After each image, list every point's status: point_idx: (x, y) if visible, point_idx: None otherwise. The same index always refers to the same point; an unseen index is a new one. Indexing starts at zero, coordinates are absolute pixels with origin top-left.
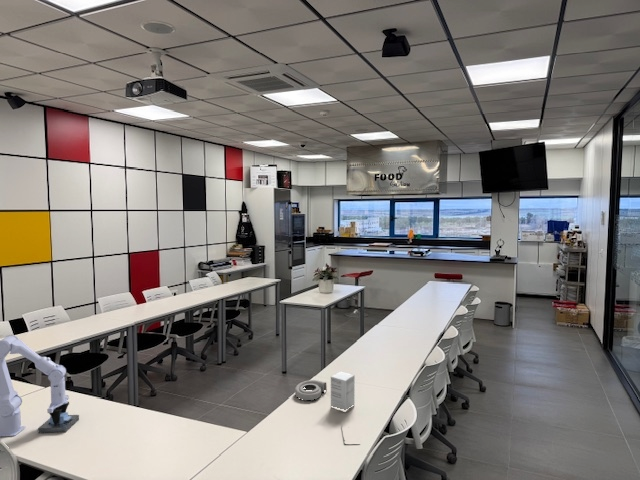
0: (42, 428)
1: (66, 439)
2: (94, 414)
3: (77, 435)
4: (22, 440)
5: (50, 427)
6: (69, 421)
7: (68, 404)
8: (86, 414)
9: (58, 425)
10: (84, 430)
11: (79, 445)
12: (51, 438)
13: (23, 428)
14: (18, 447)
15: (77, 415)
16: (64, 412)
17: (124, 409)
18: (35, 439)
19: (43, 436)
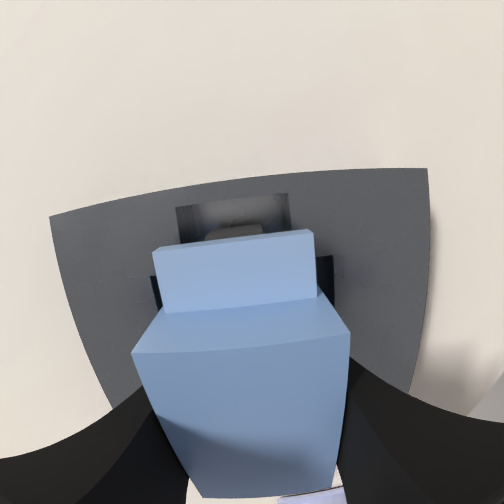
0: None
1: (474, 105)
2: (9, 134)
3: (413, 37)
4: None
5: (412, 360)
6: (230, 232)
7: (5, 464)
8: (9, 210)
9: (381, 304)
10: (323, 7)
11: (483, 13)
12: (470, 249)
13: (303, 497)
14: (498, 371)
15: (66, 220)
16: (157, 414)
17: (2, 8)
18: (455, 360)
19: (431, 341)
